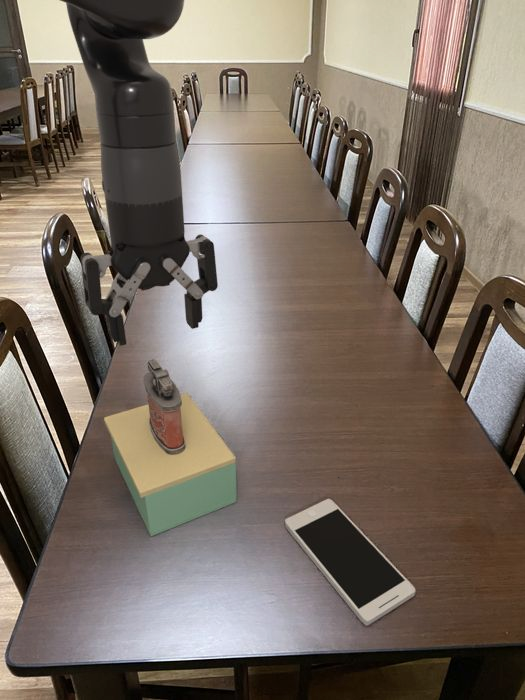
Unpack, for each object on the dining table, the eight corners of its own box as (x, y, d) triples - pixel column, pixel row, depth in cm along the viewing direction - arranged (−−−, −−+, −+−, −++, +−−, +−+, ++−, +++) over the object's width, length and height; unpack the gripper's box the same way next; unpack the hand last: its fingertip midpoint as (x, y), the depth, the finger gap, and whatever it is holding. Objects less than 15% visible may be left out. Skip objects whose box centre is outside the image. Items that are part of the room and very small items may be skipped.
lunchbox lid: (140, 498, 61) (139, 493, 61) (104, 422, 73) (103, 417, 72) (236, 462, 66) (235, 457, 66) (187, 396, 78) (187, 392, 77)
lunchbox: (150, 537, 65) (144, 496, 61) (114, 458, 76) (107, 420, 73) (236, 502, 70) (236, 463, 66) (190, 433, 81) (187, 396, 78)
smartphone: (329, 502, 70) (329, 497, 69) (416, 595, 58) (417, 589, 58) (283, 524, 66) (283, 519, 66) (365, 627, 55) (366, 622, 55)
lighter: (191, 449, 67) (186, 383, 62) (165, 458, 65) (157, 391, 60) (168, 414, 73) (161, 351, 68) (144, 422, 71) (135, 358, 66)
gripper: (78, 209, 47) (104, 365, 55) (225, 190, 53) (228, 333, 61) (61, 189, 53) (86, 333, 61) (195, 174, 59) (202, 307, 67)
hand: (157, 333), depth 61 cm, fingers open, 8 cm apart
